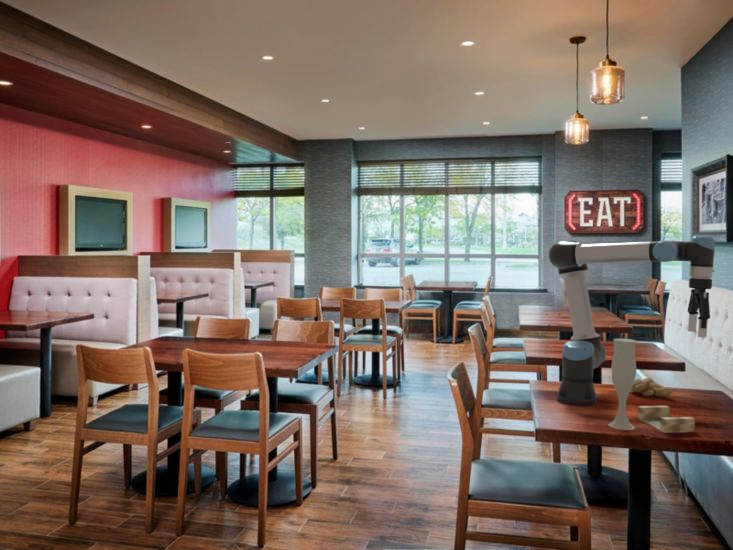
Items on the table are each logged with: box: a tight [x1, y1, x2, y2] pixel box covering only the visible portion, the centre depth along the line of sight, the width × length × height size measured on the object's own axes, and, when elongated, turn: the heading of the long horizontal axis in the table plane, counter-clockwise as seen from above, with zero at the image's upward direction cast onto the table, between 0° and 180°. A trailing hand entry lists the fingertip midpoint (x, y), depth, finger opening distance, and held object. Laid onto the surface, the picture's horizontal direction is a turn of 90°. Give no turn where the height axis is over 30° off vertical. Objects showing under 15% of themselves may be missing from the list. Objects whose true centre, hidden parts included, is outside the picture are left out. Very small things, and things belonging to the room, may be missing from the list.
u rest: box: [637, 405, 696, 434], centre depth 212 cm, size 11×16×5 cm
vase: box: [607, 338, 637, 431], centre depth 209 cm, size 9×8×30 cm
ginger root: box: [630, 377, 673, 398], centre depth 255 cm, size 16×16×8 cm
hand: (696, 334), depth 228 cm, fingers open, 13 cm apart
